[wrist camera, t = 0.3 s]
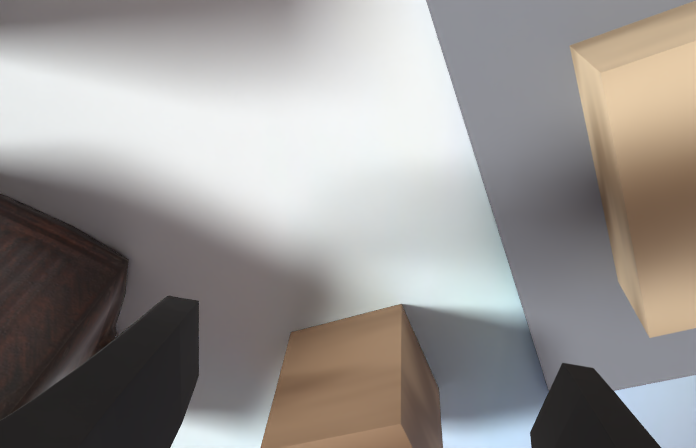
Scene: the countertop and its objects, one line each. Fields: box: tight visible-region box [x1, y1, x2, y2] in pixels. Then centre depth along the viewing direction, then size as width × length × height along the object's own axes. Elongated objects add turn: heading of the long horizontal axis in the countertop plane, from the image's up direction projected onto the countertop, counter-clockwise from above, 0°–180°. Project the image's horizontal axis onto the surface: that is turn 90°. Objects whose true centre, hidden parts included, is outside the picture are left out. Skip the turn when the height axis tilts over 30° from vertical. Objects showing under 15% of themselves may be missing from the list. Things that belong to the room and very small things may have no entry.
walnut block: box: [261, 304, 443, 448], centre depth 22 cm, size 5×5×6 cm
